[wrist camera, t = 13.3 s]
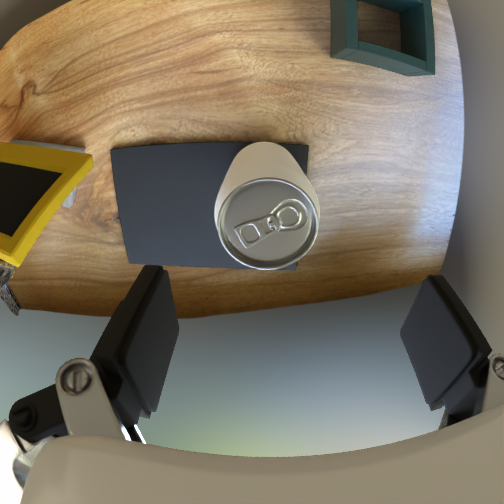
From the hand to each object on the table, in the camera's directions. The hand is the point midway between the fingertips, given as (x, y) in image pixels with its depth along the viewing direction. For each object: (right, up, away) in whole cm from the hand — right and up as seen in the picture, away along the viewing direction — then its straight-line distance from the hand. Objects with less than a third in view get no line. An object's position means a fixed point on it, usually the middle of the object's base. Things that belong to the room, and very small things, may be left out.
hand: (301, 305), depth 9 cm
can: (-1, +9, +16) cm, 19 cm away
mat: (-7, +6, +19) cm, 21 cm away
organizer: (+10, +23, +8) cm, 27 cm away
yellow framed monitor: (-27, +12, +16) cm, 34 cm away
